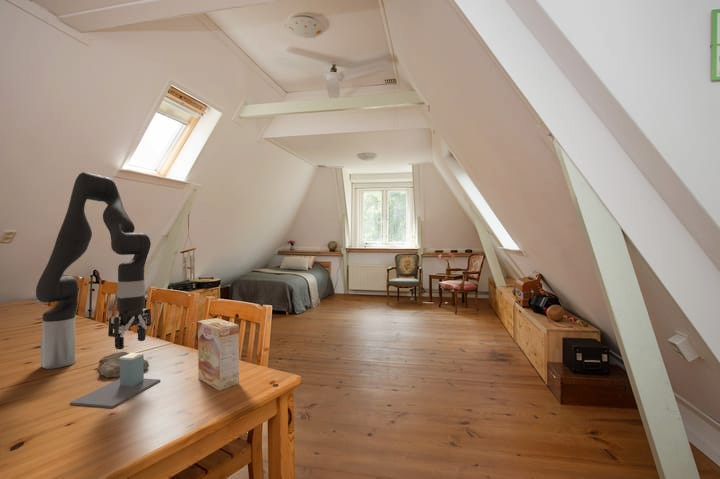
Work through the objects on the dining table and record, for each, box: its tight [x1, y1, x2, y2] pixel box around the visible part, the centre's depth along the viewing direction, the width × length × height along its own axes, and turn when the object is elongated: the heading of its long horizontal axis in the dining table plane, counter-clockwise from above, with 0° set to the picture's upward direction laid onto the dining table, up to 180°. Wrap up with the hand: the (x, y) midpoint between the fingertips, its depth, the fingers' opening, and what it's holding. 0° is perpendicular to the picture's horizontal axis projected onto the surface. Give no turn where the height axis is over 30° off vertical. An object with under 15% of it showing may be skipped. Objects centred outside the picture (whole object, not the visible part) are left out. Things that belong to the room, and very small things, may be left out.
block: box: [119, 352, 145, 387], centre depth 110 cm, size 4×4×9 cm
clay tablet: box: [97, 351, 150, 378], centre depth 125 cm, size 14×5×20 cm
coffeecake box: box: [197, 317, 240, 392], centre depth 113 cm, size 15×7×20 cm, turn 49°
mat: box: [69, 378, 161, 409], centre depth 105 cm, size 14×18×1 cm
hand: (130, 344), depth 110 cm, fingers open, 8 cm apart
